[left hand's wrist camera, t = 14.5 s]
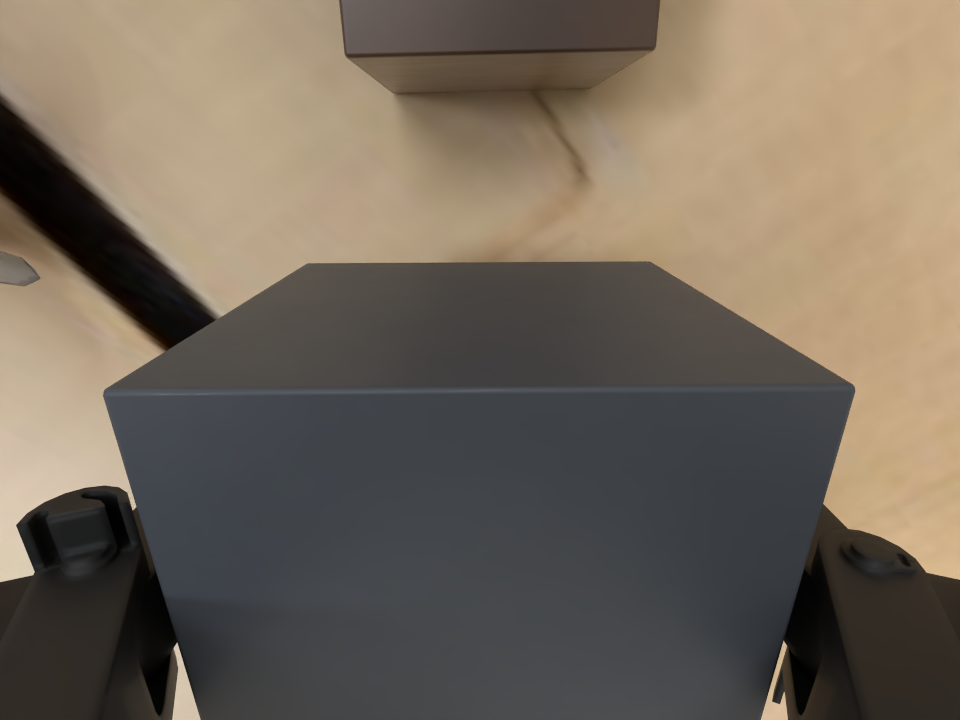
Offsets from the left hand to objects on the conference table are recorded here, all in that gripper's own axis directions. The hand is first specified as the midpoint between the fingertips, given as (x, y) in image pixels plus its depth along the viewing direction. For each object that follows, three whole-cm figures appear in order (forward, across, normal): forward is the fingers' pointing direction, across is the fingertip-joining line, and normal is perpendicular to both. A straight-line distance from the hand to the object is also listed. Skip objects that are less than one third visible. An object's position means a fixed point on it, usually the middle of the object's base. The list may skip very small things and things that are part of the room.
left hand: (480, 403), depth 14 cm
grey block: (-1, 0, 0) cm, 1 cm away
